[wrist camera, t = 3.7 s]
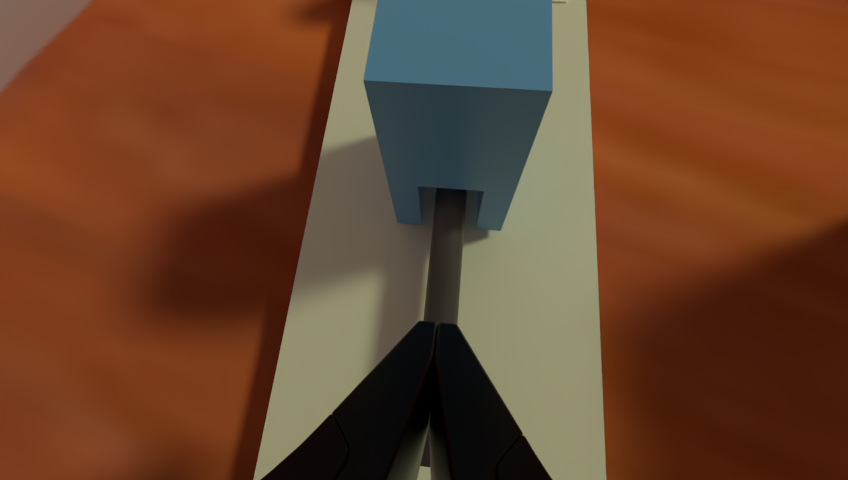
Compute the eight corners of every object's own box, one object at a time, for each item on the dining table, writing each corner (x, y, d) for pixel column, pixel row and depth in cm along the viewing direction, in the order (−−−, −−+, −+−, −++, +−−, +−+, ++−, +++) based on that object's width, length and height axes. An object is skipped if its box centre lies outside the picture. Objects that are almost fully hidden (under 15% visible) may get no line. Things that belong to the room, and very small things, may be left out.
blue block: (500, 231, 17) (552, 90, 9) (397, 222, 18) (363, 80, 10) (504, 126, 19) (551, -68, 11) (410, 120, 19) (390, -73, 11)
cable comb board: (597, 570, 15) (702, 685, 9) (255, 527, 15) (144, 606, 10) (576, -57, 25) (617, -195, 19) (372, -64, 26) (353, -199, 20)
